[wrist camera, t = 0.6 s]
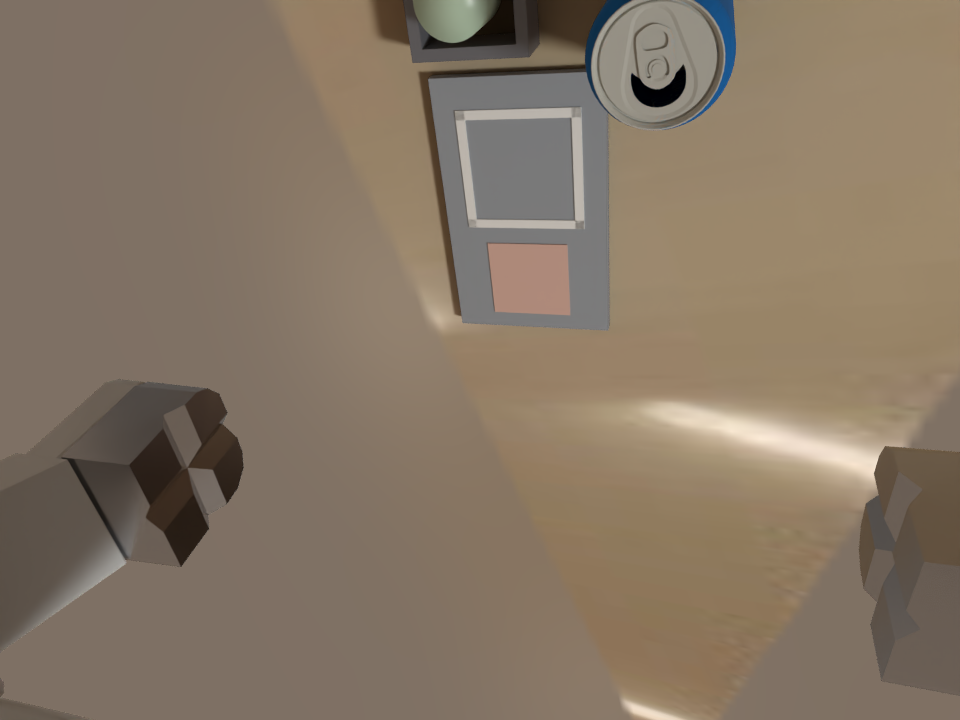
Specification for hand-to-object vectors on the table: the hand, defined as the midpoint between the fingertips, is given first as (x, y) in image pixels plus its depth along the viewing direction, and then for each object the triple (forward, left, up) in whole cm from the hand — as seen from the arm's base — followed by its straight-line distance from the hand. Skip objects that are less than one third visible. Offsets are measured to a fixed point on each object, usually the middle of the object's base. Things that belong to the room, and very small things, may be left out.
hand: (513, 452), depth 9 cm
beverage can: (+2, 0, -39) cm, 39 cm away
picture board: (+14, -9, -39) cm, 42 cm away
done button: (0, -11, -37) cm, 39 cm away
